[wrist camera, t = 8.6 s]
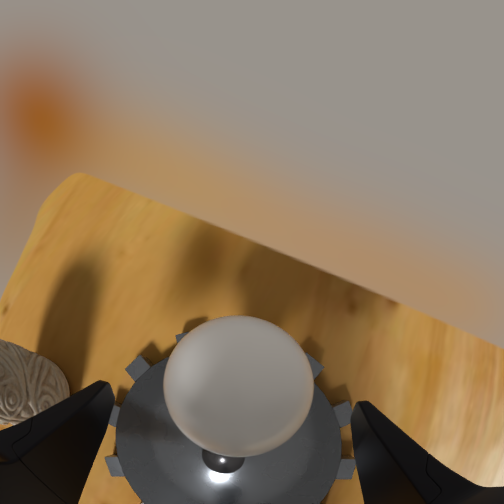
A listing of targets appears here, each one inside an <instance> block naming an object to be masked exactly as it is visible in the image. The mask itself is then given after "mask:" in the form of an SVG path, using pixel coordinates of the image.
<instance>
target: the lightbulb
mask: <svg viewBox="0 0 504 504" xmlns="http://www.w3.org/2000/svg"><path fill="white" fill-rule="evenodd" d="M163 393H164V399H165V403H166V406H167V409H168V412H169V414H170V416H171V418H172V420H173V421H174V423H175V424H176V426H177V427H178V428H179V430H180V431H181V432H182V433H183V434H184V435H185V436H186V437H187V438H188V439H190V440H191V441H192V442H193V443H195V444H196V445H198V446H200V447H201V448H203V449H205V450H208V451H210V452H213V453H216V454H219V455H223V456H229V457H251V456H256V455H260V454H264V453H267V452H269V451H272V450H274V449H276V448H277V447H279V446H281V445H282V444H284V443H285V442H286V441H288V440H289V439H290V438H291V437H292V436H293V435H294V434H295V433H296V432H297V431H298V430H299V429H300V427H301V426H302V424H303V423H304V421H305V419H306V418H307V416H308V413H309V411H310V408H311V405H312V401H313V394H314V379H313V373H312V369H311V366H310V363H309V360H308V358H307V356H306V354H305V352H304V351H303V349H302V348H301V346H300V345H299V344H298V343H297V342H296V340H295V339H294V338H293V337H292V336H291V335H289V334H288V333H287V332H286V331H284V330H283V329H282V328H280V327H278V326H277V325H275V324H273V323H271V322H268V321H266V320H263V319H260V318H256V317H251V316H243V315H231V316H223V317H219V318H215V319H212V320H209V321H207V322H204V323H202V324H200V325H199V326H197V327H195V328H194V329H193V330H191V331H190V332H189V333H187V334H186V335H185V336H184V337H183V338H182V339H181V340H180V341H179V343H178V344H177V345H176V347H175V348H174V350H173V351H172V353H171V355H170V357H169V359H168V362H167V365H166V368H165V372H164V379H163Z"/></svg>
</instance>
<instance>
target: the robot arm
mask: <svg viewBox="0 0 504 504" xmlns="http://www.w3.org/2000/svg"><path fill="white" fill-rule="evenodd" d="M114 403H115V396H114V394H113V391H112V388H111V385H110V384H109V383H108V382H106V381H102V380H99V381H97V382H95V383H93V384H91V385H89V386H88V387H86V388H84V389H82V390H81V391H79V392H77V393H75V394H73V395H71V396H70V397H68V398H66V399H64V400H62V401H61V402H59V403H57V404H55V405H53V406H51V407H49V408H48V409H46V410H44V411H42V412H40V413H38V414H36V415H34V416H33V417H30V418H28V419H27V420H25V421H22V422H20V423H18V424H16V425H14V426H11V427H9V428H6V429H3V430H1V431H0V504H78V502H79V500H80V497H81V494H82V491H83V488H84V486H85V483H86V480H87V478H88V475H89V473H90V470H91V467H92V465H93V462H94V460H95V457H96V455H97V452H98V450H99V447H100V445H101V443H102V440H103V438H104V435H105V433H106V430H107V426H108V423H109V420H110V416H111V413H112V409H113V406H114ZM350 422H351V431H352V440H353V450H354V457H355V462H356V466H357V471H358V475H359V480H360V484H361V489H362V494H363V499H364V504H504V487H482V486H479V485H476V484H474V483H472V482H470V481H469V480H467V479H465V478H464V477H462V476H460V475H459V474H457V473H455V472H454V471H452V470H451V469H449V468H448V467H446V466H445V465H443V464H442V463H441V462H439V461H438V460H437V459H436V458H434V457H433V456H432V455H431V454H428V452H427V451H426V450H425V449H423V448H422V447H421V446H420V445H419V444H417V443H416V442H415V441H414V440H413V439H412V438H410V437H409V436H408V435H407V434H406V433H404V432H403V431H402V430H401V429H400V428H399V427H398V426H396V425H395V424H394V423H393V422H392V421H391V420H389V419H388V418H387V417H386V416H385V415H384V414H383V413H381V412H380V411H379V410H378V409H377V408H376V407H375V406H374V405H372V404H371V403H370V402H369V401H359V402H357V403H356V405H355V407H354V410H353V412H352V414H351V418H350Z"/></svg>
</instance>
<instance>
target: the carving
mask: <svg viewBox="0 0 504 504" xmlns="http://www.w3.org/2000/svg"><path fill="white" fill-rule="evenodd" d="M68 397H70V392H69V385H68V382H67V380H66V378H65V375H64V374H63V372H62V371H61V370H60V368H59V367H58V366H57V365H56V364H55V363H53V362H52V361H51V360H49V359H47V358H45V357H43V356H41V355H39V354H37V353H34V352H32V351H29V350H27V349H25V348H23V347H21V346H19V345H16V344H14V343H11V342H6V341H4V340H1V339H0V424H3V425H7V424H8V423H11V424H12V425H16V424H18V423H20V422H22V421H25V420H27V419H28V418H30V417H33V416H34V415H36V414H38V413H40V412H42V411H44V410H46V409H48V408H49V407H51V406H53V405H55V404H57V403H59V402H61V401H62V400H64V399H66V398H68Z"/></svg>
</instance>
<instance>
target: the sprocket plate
mask: <svg viewBox="0 0 504 504" xmlns="http://www.w3.org/2000/svg"><path fill="white" fill-rule="evenodd" d="M187 333H189V332H186V333H182V334H178V335H176V339H177V344H178V343H179V341H180V340H181V339H182V338H183V337H184V336H185V335H186V334H187ZM305 354H306V356H307V358H308V360H309V363H310V366H311V369H312V373H313V379H315V378H316V377H317V376H318V374H319V373H320V372H321V371H322V369H323V368H324V366H322V365H321V364H320V363H319V362H317V361H316V360H315V359H314V358H312V357H311V356H310V355H309V354H308V353H305ZM169 357H170V356H169ZM169 357H167V358H165V359H163V360H162V361H160V362H158V363H157V364H155V365H153V364H152V363H151V362H150V360H149V359H148V358H147V357H145V356H142V355H139V356H138V357H137V358H136V359H135V360H134V361H133V362H132V363H131V364H130V365H129V366H128V367H127V368H126V369H125V370H126V371H127V372H128V374H129V375H130V376H131V377H132V379H133V380H134V381H135V383H134V385H133V386H132V388H131V389H130V391H129V392H128V394H127V395H126V397H125V399H124V401H123V403H122V404H120V403H117V402H115V403H114V406H113V409H112V413H111V416H110V420H109V423H108V424H110V425H112V426H114V427H116V447H117V454H112V455H109V456H106V457H105V460H106V463H107V466H108V468H109V471H110V474H111V476H125V477H126V479H127V481H128V482H129V484H130V486H131V487H132V489H133V490H134V492H135V493H136V494H137V495H138V497H139V498H140V499H141V500H142V501H143V502H141V503H140V504H322V503H320V502H321V501H322V500H323V498H324V497H325V496H326V494H327V493H328V491H329V490H330V488H331V486H332V484H333V482H334V480H335V479H352V475H353V472H354V469H355V465H356V462H355V458H354V457H352V456H351V455H341V447H342V443H341V434H340V428H341V427H344V426H346V425H348V424H350V423H351V422H350V418H351V414H352V412H353V411H352V408H351V406H350V403H349V401H347V400H342V401H340V402H337V403H335V404H333V405H331V404H330V403H329V401H328V400H327V398H326V396H325V395H324V393H323V392H322V391H321V390H320V389H319V387H318V386H317V385H316V384H315V383H314V394H313V401H312V405H311V408H310V411H309V413H308V416H307V418H306V419H305V421H304V423H303V424H302V426H301V427H300V429H299V430H298V431H297V432H296V433H295V434H294V435H293V436H292V437H291V438H290V439H289V440H288V441H286V442H285V443H284V444H282V445H281V446H279V447H277V448H276V449H274V450H272V451H269V452H267V453H264V454H260V455H256V456H251V457H229V456H223V455H219V454H216V453H213V452H210V451H208V450H205V449H203V448H201V447H200V446H198V445H196V444H195V443H193V442H192V441H191V440H190V439H188V438H187V437H186V436H185V435H184V434H183V433H182V432H181V431H180V430H179V428H178V427H177V426H176V424H175V423H174V421H173V420H172V418H171V416H170V414H169V412H168V409H167V406H166V403H165V399H164V393H163V379H164V372H165V368H166V365H167V362H168V359H169Z"/></svg>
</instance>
